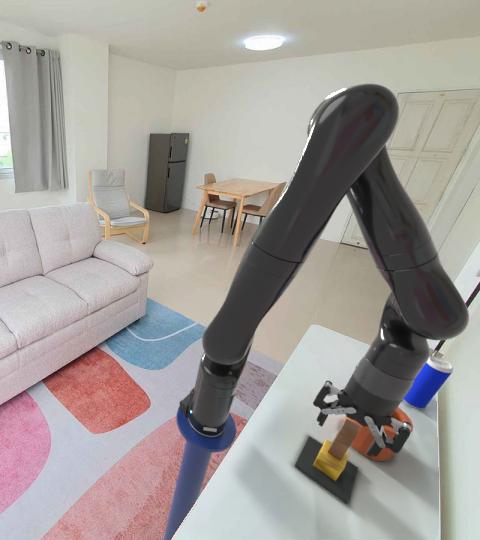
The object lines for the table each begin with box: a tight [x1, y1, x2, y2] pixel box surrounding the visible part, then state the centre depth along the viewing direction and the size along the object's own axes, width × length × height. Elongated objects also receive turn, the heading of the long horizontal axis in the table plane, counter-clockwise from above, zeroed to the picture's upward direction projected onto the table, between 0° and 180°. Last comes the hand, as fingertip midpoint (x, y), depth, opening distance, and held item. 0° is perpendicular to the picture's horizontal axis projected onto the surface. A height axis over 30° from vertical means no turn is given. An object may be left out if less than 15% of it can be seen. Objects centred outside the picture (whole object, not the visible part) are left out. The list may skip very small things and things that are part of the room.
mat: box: [294, 435, 359, 504], centre depth 66 cm, size 10×10×1 cm
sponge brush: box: [313, 417, 360, 481], centre depth 62 cm, size 4×4×14 cm
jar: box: [341, 406, 414, 462], centre depth 70 cm, size 10×10×10 cm
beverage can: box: [402, 355, 454, 410], centre depth 80 cm, size 5×5×15 cm
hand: (344, 437), depth 61 cm, fingers open, 8 cm apart
